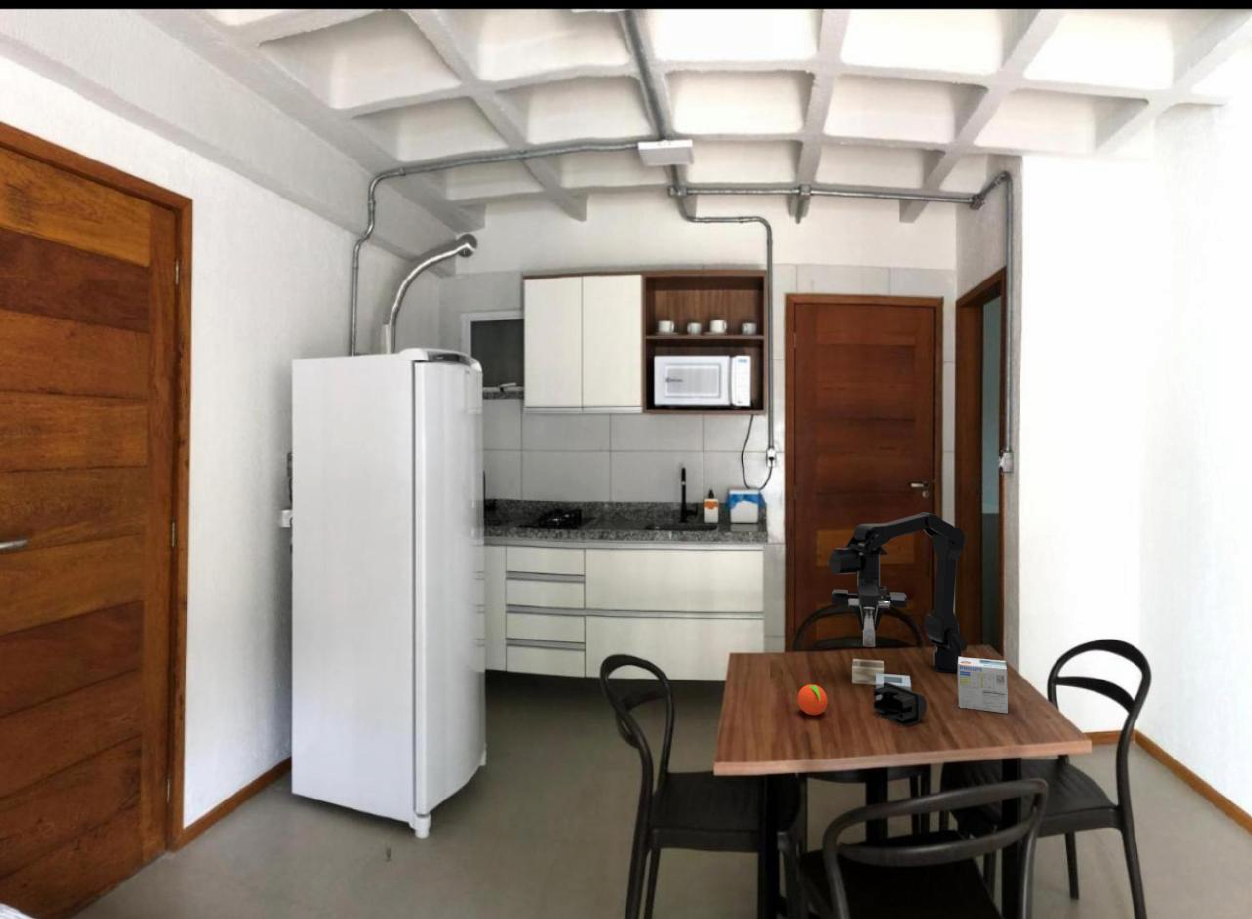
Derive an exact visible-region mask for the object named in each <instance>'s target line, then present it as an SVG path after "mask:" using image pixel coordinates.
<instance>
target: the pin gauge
mask: <svg viewBox="0 0 1252 919" xmlns="http://www.w3.org/2000/svg"><path fill="white" fill-rule="evenodd" d="M875 618H876V608H875V607H874V606H864V607H862V619H863V630H862V646H864V647H867V648H874V647H876V631H875Z"/></svg>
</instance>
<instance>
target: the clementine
mask: <svg viewBox="0 0 1252 919" xmlns="http://www.w3.org/2000/svg"><path fill="white" fill-rule="evenodd" d="M828 703H829V701H828V695H827V693H826V691H825V690H824V689H823V688H822V687H820V686H819V685H817V684H806V685H805V686H802V687H801V689H800V690H799V691H798V693H797V704H798V706H799V708H800V709H801V711H802V712H804V713H805V714H806V715H810V716H818V715H820V714H823V713H824V712H825V710H826V709H827V707H828Z"/></svg>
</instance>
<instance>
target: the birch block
mask: <svg viewBox="0 0 1252 919" xmlns="http://www.w3.org/2000/svg"><path fill="white" fill-rule="evenodd" d="M851 665H852V666H851V678H852V679H851V683H852V684H860V685H861V684H862V685H872V686H873V685H875V686H876V673H877V674H885V663H884V660H873V659H860V658H859V659H858V658H852V664H851Z"/></svg>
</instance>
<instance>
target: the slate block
mask: <svg viewBox="0 0 1252 919" xmlns="http://www.w3.org/2000/svg"><path fill="white" fill-rule="evenodd" d="M884 682H888V683H891V684H894V685H897V686H899V687H902V688H905V689H908V690H910V691H912V683H911V677H910V675H902V674H901V675H900V674H889V673H884V674H877V673H876V685H875V686H876V687H875V689H877V688H881V687H884ZM875 698H876V700H880V699H881V698H882V695H878V696H875ZM876 700H875V701H876Z"/></svg>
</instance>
